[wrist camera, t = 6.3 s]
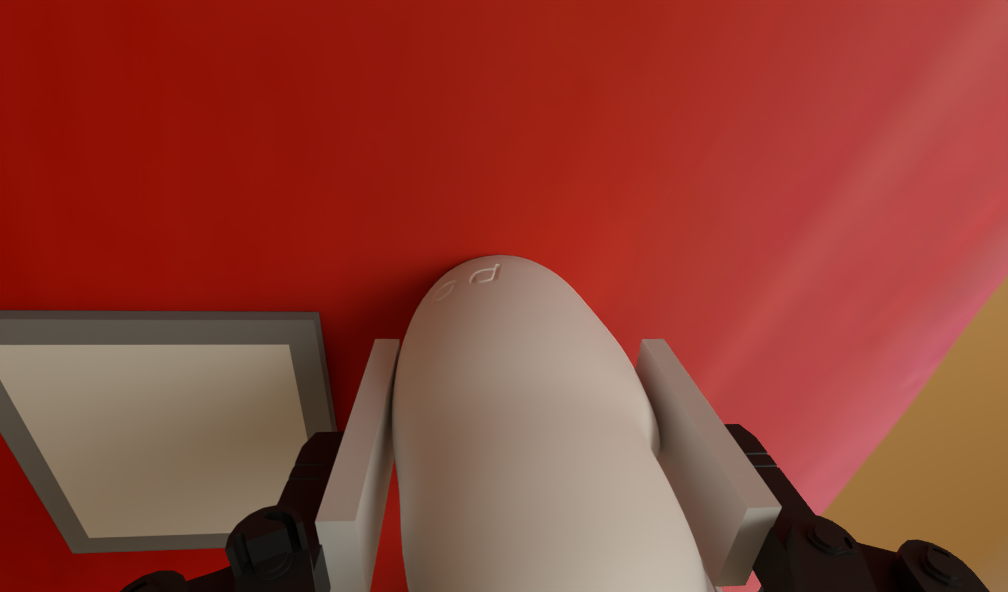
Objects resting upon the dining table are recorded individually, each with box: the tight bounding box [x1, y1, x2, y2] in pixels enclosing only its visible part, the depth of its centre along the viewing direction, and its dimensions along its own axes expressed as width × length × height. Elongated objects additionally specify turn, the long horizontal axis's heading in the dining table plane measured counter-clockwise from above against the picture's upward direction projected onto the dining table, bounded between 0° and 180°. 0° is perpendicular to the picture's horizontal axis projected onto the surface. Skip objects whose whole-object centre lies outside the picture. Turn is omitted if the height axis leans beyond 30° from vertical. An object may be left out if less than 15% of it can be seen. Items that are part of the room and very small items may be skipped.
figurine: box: [392, 255, 708, 592], centre depth 12 cm, size 7×8×12 cm
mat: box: [0, 310, 337, 554], centre depth 18 cm, size 12×12×1 cm
